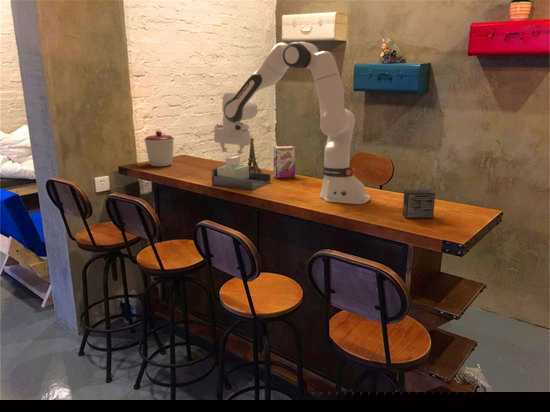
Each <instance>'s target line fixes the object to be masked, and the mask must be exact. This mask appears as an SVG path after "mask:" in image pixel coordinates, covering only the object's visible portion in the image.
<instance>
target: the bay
mask: <svg viewBox="0 0 550 412" xmlns="http://www.w3.org/2000/svg"><path fill="white" fill-rule="evenodd" d="M223 166H226V165H225V164H224V165H221V166H217V167H215V168H211V185H212V186H221V187H227V188H234V189H243V190H248V191H254V190H256V189H259V188H260V187H263V186H265V185H268V184H270V183H271V181H272V178H271V173H265V172H262V173H258V172H257V171H256V172H253V171H251V172H249V179H246V180H245V179H237V178H229V177H221V176H217V168H220V167H223Z"/></svg>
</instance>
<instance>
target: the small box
mask: <svg viewBox="0 0 550 412" xmlns="http://www.w3.org/2000/svg"><path fill="white" fill-rule="evenodd" d="M435 198H436V192H435V191H434V190H432V189H426V188H425V189H424V188H423V189H406V188H405V189H404V191H403V201H402V202H403V204H402V205H403V206H402V216H403V217H404V219H407V220H433V219H434V210H435Z"/></svg>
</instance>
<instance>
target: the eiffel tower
mask: <svg viewBox="0 0 550 412" xmlns="http://www.w3.org/2000/svg"><path fill="white" fill-rule="evenodd" d="M250 137H251V143H250V144H249V158H248V159H247V160H248V162H247V165H249V172H258V173H263V171H262V169H260V168H259V165H258V163H257V157H256V152H255V145H254V142H255V137H253V135H250Z"/></svg>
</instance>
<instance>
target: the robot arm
mask: <svg viewBox="0 0 550 412" xmlns="http://www.w3.org/2000/svg"><path fill="white" fill-rule="evenodd" d="M289 68H292V69H301V70H306V69H308V70H310V73H311V74H312V78H313V82H314V86H315V89H316V94H317V97H318V103H319V105H318V106H319V116H320V121H319V129H320V131H321V132H322V133H323V135H325V136H327V140H326V144H325V145H324V146H325V147H324V161H323V162H324V163H323V164H324V165H323V166H322V167H323V168H322V178H323V179H322V186H321V189H320V190H321V191H320V193H319V198H320V199H322V200H324V201H325V202H328V203H339V204H340V203H341V204H349V205H350V204H351V205H362V204H366V203H368V202H370V200H371V196H370V195H369V194H367V193H366V187H365V185H364V183H363V182H362V181H360V180H359V179H358V178H357V177H355V176H354V171H355V168H354V167H353V168H352V167H351V166H350V155H351V144H352V140H353V136H354V135H353V134H354V126H355V123H356V117H355V114H354V113H353V112H352V111H351V110H349V109H347V108H345V100H344V95H345V91H344V87H343V83H342V79H341V75H340V71H339V68H338V65H337V62H336V60H335V58H334V56H333V54H332V52H330V51H328V50H327V51H326V50H321V48H320V46H319V45H317V44H315V43H312V42H306V41H292V42H290V43H289V44H288V43H286V42H278V43H276V44H275V45H274V46H273V47H272V49H271V50H270V51H269V52H268V54H267V55H266V56H265V57H264V59H263V61H262V62H261V63H260V65H259V66H258V67H257V69H256V70H255V71H254V72H253V73H252V74H251V75H250V77H248V79H247V80H246V81H244V84H243V85H242V86H241V87H240V89H239V90H238V91H229V92H228V91H227V92H226V93H224V94H223V96H222V103H221V104H222V105H221V106H222V114H223V116H222V124H219V123H217V124H216V125H215V126H214V133H213V141H214V143H218V144H219V145H220V148H221V150H222V153H227V152H228V151H227V148H226V146H225V144H226V145H227V144H228V145H236V146H237V145H238V146H239V149H238V150H237V153H238V154H239V155H241V154H243V151H244V150H243V149H244V148H245V146H250V143H251V132H250V125H249V124H248V123H245V122H244V121H247V120H252V119H254V118H255V117H256V116H257V114H258V106H257V105H258V104H257V103H256V102H255V101H254V100H253V99H252V98H253V97H254V95H255V94H256V93H258V91H261V90H263V89H266V88H269V87H271V86H274V85H276V84H277V83H278V82H279V81H281V79H282V78H283V76H285V74H286V72H287V71H288V69H289Z"/></svg>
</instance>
